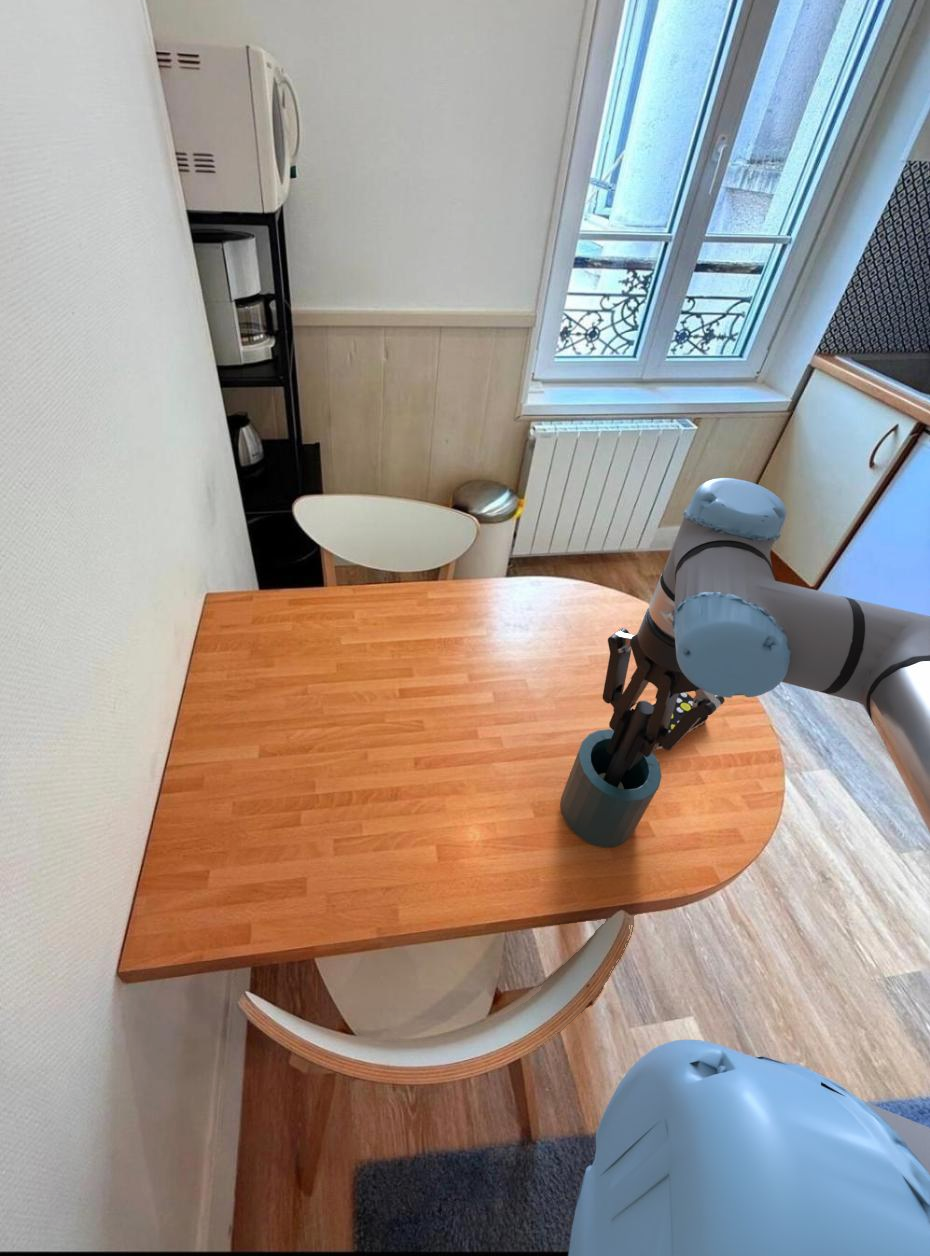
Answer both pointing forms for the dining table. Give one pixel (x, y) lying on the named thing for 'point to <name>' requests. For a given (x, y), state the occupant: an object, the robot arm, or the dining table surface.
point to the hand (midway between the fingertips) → (623, 754)
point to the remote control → (682, 712)
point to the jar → (607, 794)
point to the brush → (628, 743)
